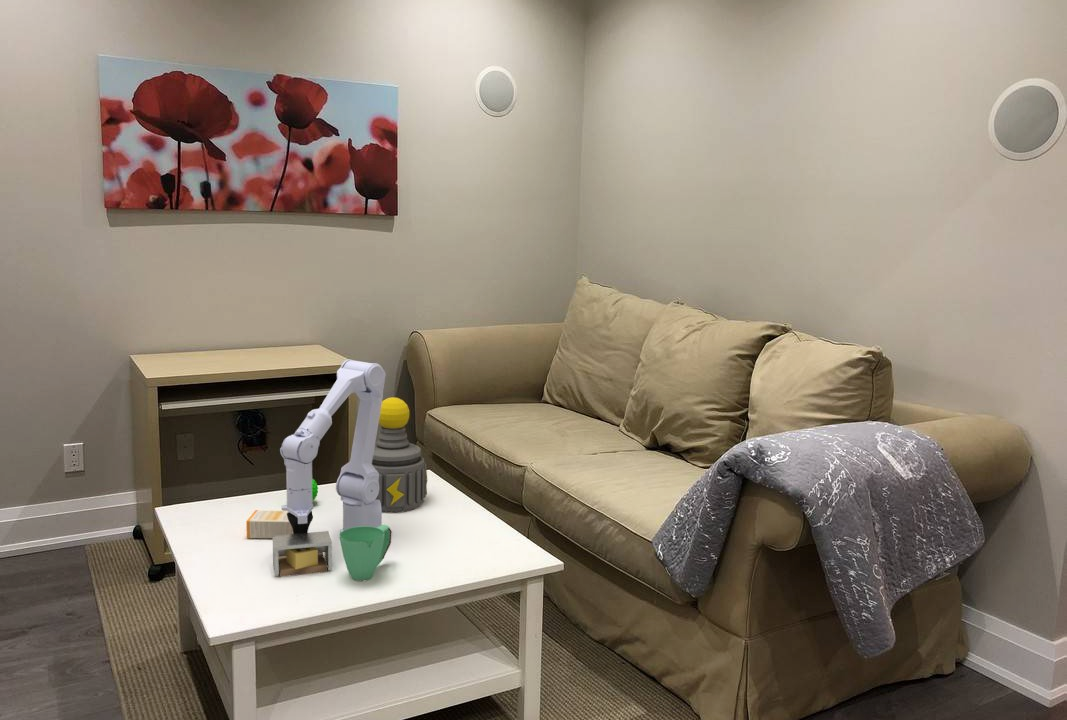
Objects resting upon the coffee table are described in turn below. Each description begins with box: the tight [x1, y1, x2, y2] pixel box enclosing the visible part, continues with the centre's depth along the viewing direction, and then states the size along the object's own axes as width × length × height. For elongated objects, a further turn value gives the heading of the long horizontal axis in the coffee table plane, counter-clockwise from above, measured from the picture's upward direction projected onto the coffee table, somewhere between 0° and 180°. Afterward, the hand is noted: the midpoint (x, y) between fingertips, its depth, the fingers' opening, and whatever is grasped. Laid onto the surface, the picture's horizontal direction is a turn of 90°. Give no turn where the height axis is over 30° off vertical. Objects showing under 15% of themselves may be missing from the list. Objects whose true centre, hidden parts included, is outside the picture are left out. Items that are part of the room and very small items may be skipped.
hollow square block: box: [286, 547, 318, 569], centre depth 200 cm, size 5×5×4 cm
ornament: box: [312, 478, 319, 502], centre depth 243 cm, size 8×8×10 cm
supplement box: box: [245, 509, 293, 539], centre depth 221 cm, size 8×5×13 cm
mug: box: [338, 524, 393, 582], centre depth 199 cm, size 15×10×10 cm
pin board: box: [278, 548, 328, 577], centre depth 205 cm, size 10×16×6 cm, turn 19°
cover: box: [272, 530, 333, 577], centre depth 201 cm, size 12×7×7 cm, turn 109°
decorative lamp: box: [357, 397, 428, 513], centre depth 246 cm, size 19×19×30 cm
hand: (300, 543), depth 206 cm, fingers closed
